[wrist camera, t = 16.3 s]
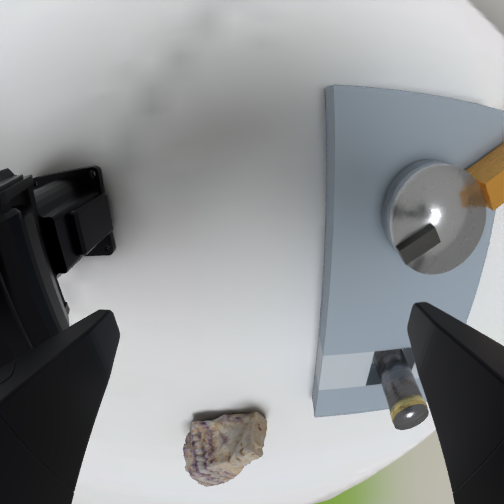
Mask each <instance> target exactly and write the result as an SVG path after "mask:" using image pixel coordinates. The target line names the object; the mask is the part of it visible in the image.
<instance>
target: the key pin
mask: <svg viewBox="0 0 504 504" xmlns="http://www.w3.org/2000/svg"><path fill="white" fill-rule="evenodd" d="M373 361H374V364H375V367H376V370H377V373H378V376H379V379H380V382H381V385H382V388H383V391H384V394H385V397H386V400H387V403H388V406H389V410H390V415H391V418H392V422H393V424H394V426H395V428H396V429H399V430H405V429H410V428H412V427H415V426H417V425H418V424H420V423H421V422H423V421H424V420H425V419H426V418H427V416H428V413H429V412H428V409H427V405H426V402H425V400H424V398H423V397H422V394H421V392H420V390H419V387H418V385H417V383H416V380H415V378H414V376H413V373H412V371H411V369H410V366H409V364H408V362H407V360H406V357H405V355H404V353H403V351H402V349H401V348H400V349H392V350H384V351H374V355H373Z"/></svg>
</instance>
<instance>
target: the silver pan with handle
mask: <svg viewBox="0 0 504 504" xmlns="http://www.w3.org/2000/svg"><path fill="white" fill-rule="evenodd" d="M503 203H504V143H503V144H501V145H500V146H499V147H497V148H496V149H495V150H493V151H492V152H491V153H489V154H488V155H486V156H485V157H484V158H482V159H481V160H479V161H478V162H477V163H475V164H474V165H472V166H471V167H470V168H468V169H467V170H463V169H461V168H459V167H456V166H454V165H451V164H449V163H446V162H444V161H440V160H435V159H425V160H421V161H417V162H415V163H413V164H411V165H409V166H407V167H406V168H405V169H403V170H402V171H401V172H400V173H399V174H398V175H397V176H396V177H395V179H394V180H393V181H392V183H391V185H390V186H389V188H388V190H387V192H386V195H385V198H384V201H383V206H382V225H383V230H384V233H385V236H386V238H387V240H388V242H389V243H390V245H391V246H392V247H393V248H394V250H395V251H396V252H397V253H398V255H399V256H400V257H401V259H402V261H403V262H404V263H405V265H408V266H409V267H410V268H412V269H413V270H415V271H417V272H419V273H423V274H430V275H434V274H441V273H445V272H448V271H450V270H452V269H454V268H456V267H457V266H459V265H460V264H461V263H463V262H464V261H465V260H466V259H467V258H468V257H469V256H470V255H471V253H472V252H473V251H474V249H475V248H476V246H477V245H478V243H479V241H480V239H481V236H482V234H483V231H484V227H485V222H486V207H488V208H489V209H491V210H493V211H494V210H495V209H496V208H498V207H499V206H500V205H501V204H503Z"/></svg>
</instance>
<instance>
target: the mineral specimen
mask: <svg viewBox="0 0 504 504" xmlns="http://www.w3.org/2000/svg"><path fill="white" fill-rule="evenodd" d="M266 430H267V420H266V419H265V418H264V417H263V416H262V415H261V414H260V413H259V412H256V411H254V412H251V413H248V414H242V413H240V414H232V415H222V416H220V417H219V418H217V419H214V420H211V421H209V420H208V421H194V422H192V426H191V428H190V432H189V433H188V435H187V436H186V440H185V442H186V444H184V447H183V452H184V458H185V461H186V466H185V469H186V471H187V472H189V473H190V476H191V477H192V478H193V479H194V480H196V481H198V483H199V484H201V485H204V486H213V485H219V484H221V483H224V482H228V481H229V480H230V479H233V478H234V477H235V476H237V475H238V474H239V473H240V472H241V470H242V469H243V467H244V466H246V465H247V464H250V463H251V461H252V460H255V459H258V458H260V457H261V456H262V455H263V451H262V448H263V446H264V439H265V437H266Z"/></svg>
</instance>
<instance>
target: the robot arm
mask: <svg viewBox="0 0 504 504" xmlns="http://www.w3.org/2000/svg"><path fill="white" fill-rule="evenodd" d="M92 171H94V172H95V176H93V175H92ZM36 182H37V184H38V186H37V185H36ZM112 230H113V226H112V221H111V216H110V211H109V206H108V200H107V196H106V195H105V193H104V187H103V181H102V174H101V170H100V168H99V167H97V166H90V167H85V168H79V169H74V170H68V171H63V172H58V173H53V174H48V175H43V176H39V177H36V178H33V177H32V175H29V176H25V177H23V175H18V176H17V175H14V174H13V173H12V172H11V171H10V170H9V169H8V168H7V169H3V170H1V171H0V504H71V503H72V499H73V495H74V491H75V487H76V483H77V479H78V476H79V472H80V468H81V465H82V461H83V458H84V454H85V451H86V448H87V444H88V441H89V438H90V435H91V432H92V428H93V425H94V422H95V419H96V416H97V413H98V410H99V407H100V404H101V401H102V398H103V396H104V393H105V390H106V387H107V384H108V381H109V378H110V374H111V371H112V366H113V362H114V358H115V354H116V351H117V347H118V343H119V339H120V332H119V328H118V326H117V323H116V320H115V317H114V314H113V312H112V311H111V310H98V311H96V312H94V313H92V314H91V315H89V316H87V317H86V318H84V319H82V320H80V321H79V322H77V323H75V324H73V325H72V326H70V327H69V317H68V314H69V307H68V304H67V302H65V300H64V298H63V295H62V292H61V289H60V286H59V283H58V280H57V279H58V278H59V277H60V276H61V275H62V274H63V273H67V272H68V271H69V270H70V269H71V268H72V267H73V266H74V265H75V264H76V263H77V262H78V261H79V260H80V259H81V258H82V257H83V256H100V255H111V254H112V253H113V252H114V251H115V243H114V238H113V234H112ZM107 246H109V247H110V250H109V249H107ZM407 332H408V336H409V340H410V344H411V348H412V352H413V356H414V360H415V364H416V368H417V372H418V375H419V378H420V381H421V384H422V387H423V390H424V393H425V396H426V399H427V402H428V405H429V408H430V411H431V414H432V418H433V421H434V424H435V427H436V431H437V434H438V437H439V441H440V444H441V448H442V452H443V455H444V459H445V463H446V467H447V471H448V475H449V479H450V483H451V488H452V492H453V497H454V502H455V504H504V346H502V345H501V344H499V343H497V342H496V341H494V340H492V339H491V338H489V337H487V336H486V335H484V334H482V333H480V332H479V331H477V330H475V329H474V328H472V327H470V326H468V325H467V324H465V323H463V322H461V321H460V320H458V319H456V318H454V317H453V316H451V315H449V314H447V313H446V312H444V311H442V310H440V309H438V308H437V307H435V306H433V305H431V304H430V303H428V302H417V303H414V304H413V306H412V309H411V313H410V317H409V321H408V325H407Z"/></svg>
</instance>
